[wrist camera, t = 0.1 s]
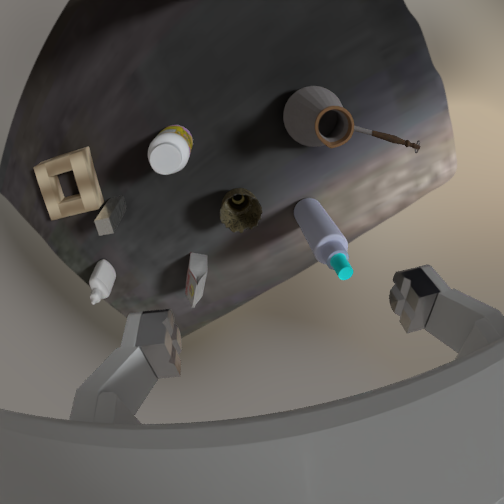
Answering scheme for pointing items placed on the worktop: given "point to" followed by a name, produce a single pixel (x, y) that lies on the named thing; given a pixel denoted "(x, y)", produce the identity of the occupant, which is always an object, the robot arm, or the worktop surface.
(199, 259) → the white and red box
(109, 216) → the metal peg
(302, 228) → the spray bottle
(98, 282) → the eye dropper bottle
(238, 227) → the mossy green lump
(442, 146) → the worktop surface
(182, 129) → the supplement bottle
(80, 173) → the tan square ring
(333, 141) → the coffee pot
